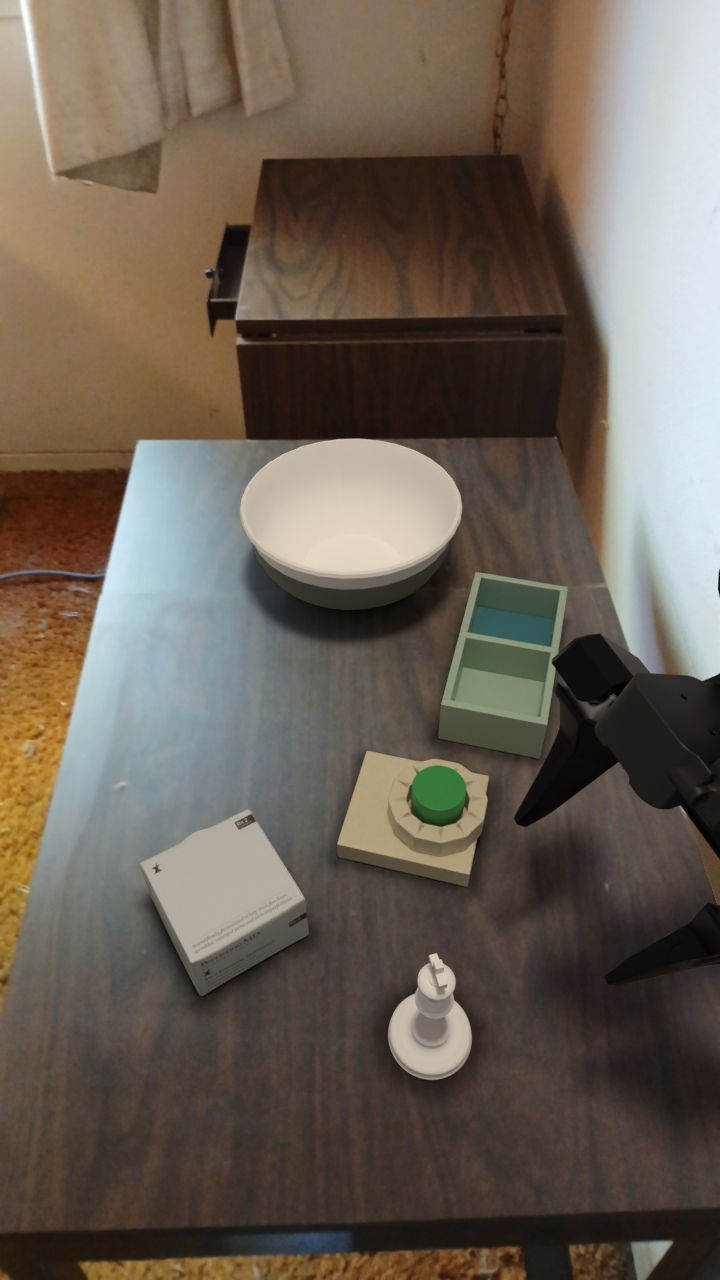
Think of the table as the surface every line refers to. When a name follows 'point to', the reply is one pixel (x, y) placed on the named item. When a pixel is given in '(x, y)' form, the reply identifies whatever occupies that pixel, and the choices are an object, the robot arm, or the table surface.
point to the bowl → (351, 521)
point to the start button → (438, 794)
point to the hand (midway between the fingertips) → (561, 897)
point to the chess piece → (431, 1026)
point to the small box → (225, 900)
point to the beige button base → (410, 822)
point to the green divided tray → (504, 665)
